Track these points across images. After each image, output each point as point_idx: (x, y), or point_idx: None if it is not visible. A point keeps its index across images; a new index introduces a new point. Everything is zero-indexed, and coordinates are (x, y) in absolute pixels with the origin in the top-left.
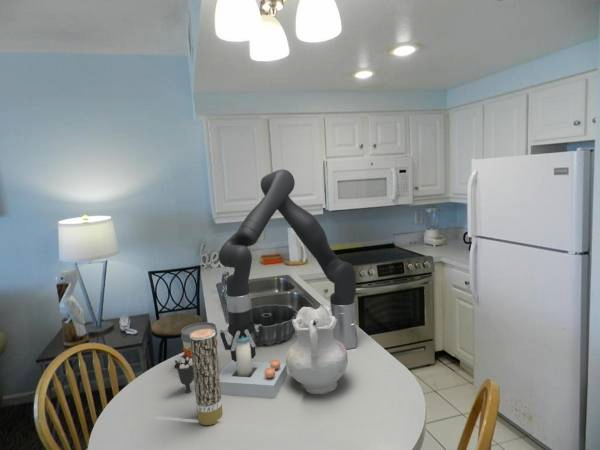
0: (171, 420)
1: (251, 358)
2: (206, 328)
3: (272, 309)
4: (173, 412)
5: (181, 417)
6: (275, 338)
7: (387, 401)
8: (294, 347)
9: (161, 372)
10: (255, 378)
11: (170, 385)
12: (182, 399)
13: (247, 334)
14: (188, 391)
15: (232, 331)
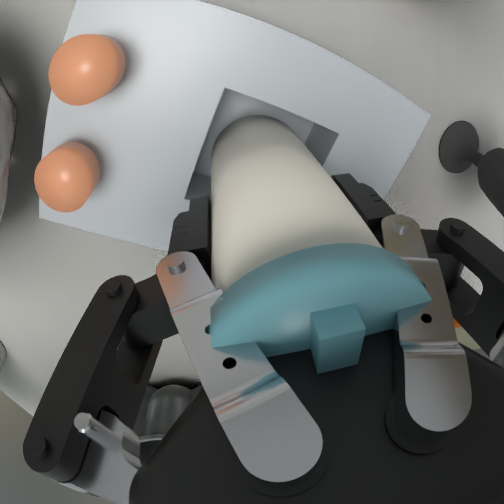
0: (497, 22)
1: (211, 197)
2: None
3: None
4: (496, 62)
5: (478, 20)
6: (152, 398)
7: None
8: None
9: (473, 288)
10: (191, 66)
11: (481, 221)
12: (475, 126)
13: (250, 383)
14: (469, 146)
15: (495, 398)
